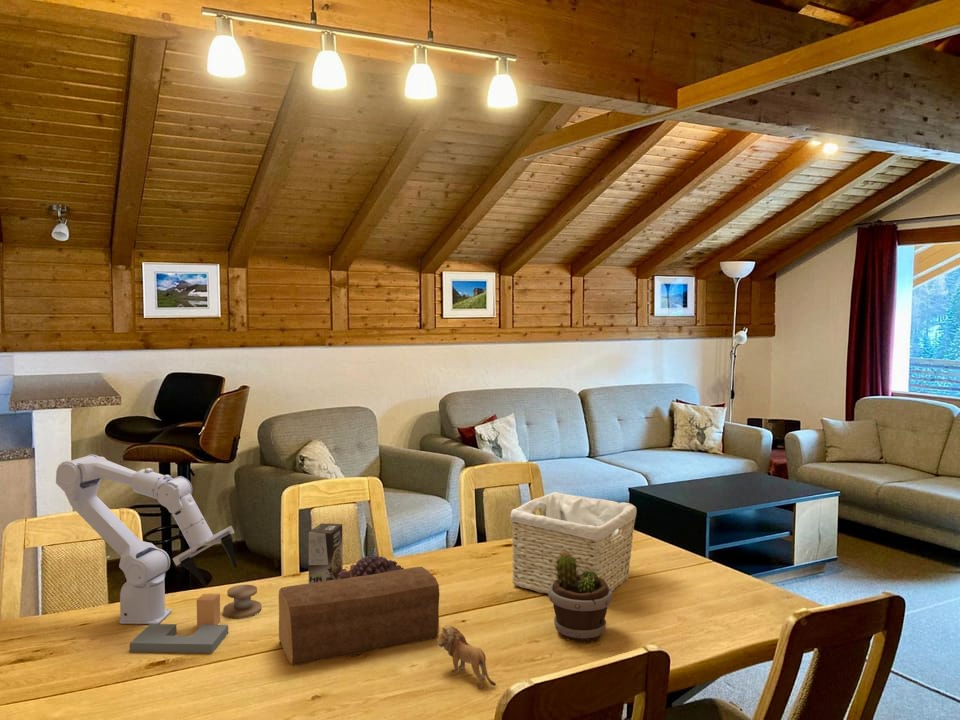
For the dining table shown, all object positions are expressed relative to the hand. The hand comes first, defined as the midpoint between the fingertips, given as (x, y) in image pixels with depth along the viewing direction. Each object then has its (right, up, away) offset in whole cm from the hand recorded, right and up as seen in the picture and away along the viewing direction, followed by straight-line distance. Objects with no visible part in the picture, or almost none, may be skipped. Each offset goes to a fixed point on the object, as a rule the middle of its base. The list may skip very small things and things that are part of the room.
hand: (220, 576), depth 180 cm
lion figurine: (+58, -14, -23) cm, 64 cm away
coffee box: (+20, -10, +26) cm, 34 cm away
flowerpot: (+84, -13, -3) cm, 85 cm away
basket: (+87, -11, +29) cm, 92 cm away
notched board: (-6, -12, -9) cm, 16 cm away
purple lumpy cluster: (+33, -11, +21) cm, 40 cm away
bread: (+34, -13, -7) cm, 37 cm away
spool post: (+2, -11, +9) cm, 14 cm away
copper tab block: (-3, -12, 0) cm, 12 cm away
